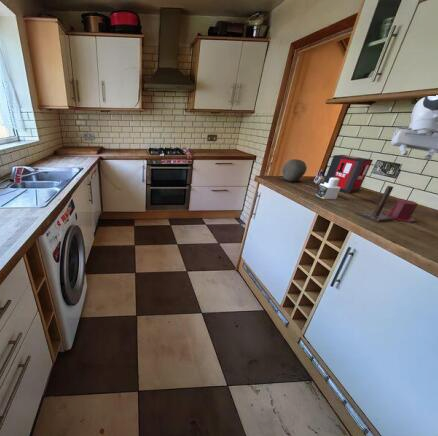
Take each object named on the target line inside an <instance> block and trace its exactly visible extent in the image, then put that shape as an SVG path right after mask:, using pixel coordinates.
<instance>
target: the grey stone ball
mask: <svg viewBox="0 0 438 436" xmlns="http://www.w3.org/2000/svg"><path fill="white" fill-rule="evenodd" d="M307 168H308V167H307V164H306V162H305V161H303V160H301V159H297V158H296V159H295V158H293V159H289V160H287V161H286V162H285V163H284V165H283V166H282V169H281V175H282V177H283V179H284V180H285V181H287V182H291V183H293V182H296V181H299V180H300V179H301V178H302V177H304V175H305V174H306V172H307Z"/></svg>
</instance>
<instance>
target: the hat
mask: <svg viewBox="0 0 438 436" xmlns="http://www.w3.org/2000/svg"><path fill="white" fill-rule="evenodd" d="M417 207H418V203H417V202H416V201H413V200H409V199H402V198H401V199H399V198H398V199H397V200H396V201H395V203H394V205H393V207H392V209H391V210H390V211H384V212H383V213H382V214H384V215H386V216H389V217H392V218H394V220H396V221H398V222H399V221H400V222H404V223H415V222H416V221H417V220H416V219H415V218H414V217H412V215H413V214H414V212H415V211H416V209H417Z"/></svg>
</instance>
